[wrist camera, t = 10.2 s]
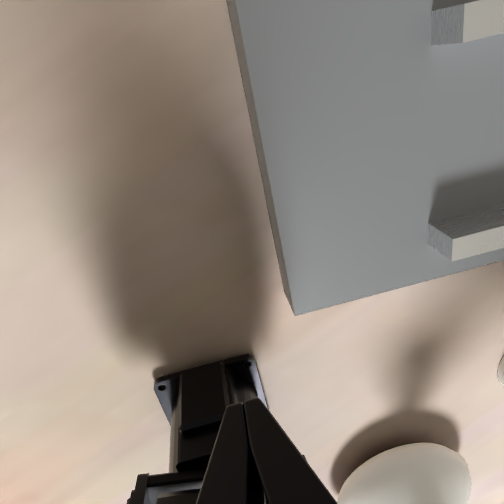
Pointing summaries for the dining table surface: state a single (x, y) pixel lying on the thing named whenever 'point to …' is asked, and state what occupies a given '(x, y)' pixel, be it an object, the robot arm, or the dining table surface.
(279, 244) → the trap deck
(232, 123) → the dining table surface
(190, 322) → the dining table surface
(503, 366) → the cup
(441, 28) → the channel rails
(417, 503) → the flower in vase
